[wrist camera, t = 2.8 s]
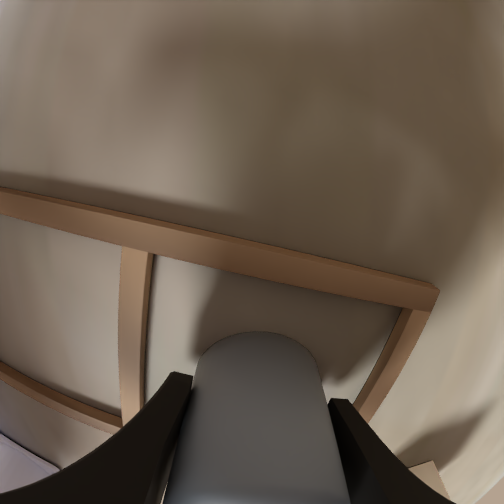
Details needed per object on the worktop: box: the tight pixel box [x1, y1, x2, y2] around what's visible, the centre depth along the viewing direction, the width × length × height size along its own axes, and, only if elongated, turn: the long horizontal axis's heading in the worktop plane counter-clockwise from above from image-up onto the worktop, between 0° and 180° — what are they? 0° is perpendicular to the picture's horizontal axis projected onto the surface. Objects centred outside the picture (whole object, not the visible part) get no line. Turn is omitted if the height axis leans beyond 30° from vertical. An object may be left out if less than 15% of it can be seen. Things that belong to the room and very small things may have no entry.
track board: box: [0, 187, 440, 435], centre depth 9 cm, size 10×28×1 cm, turn 77°
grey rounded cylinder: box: [163, 332, 351, 504], centre depth 7 cm, size 4×4×6 cm
